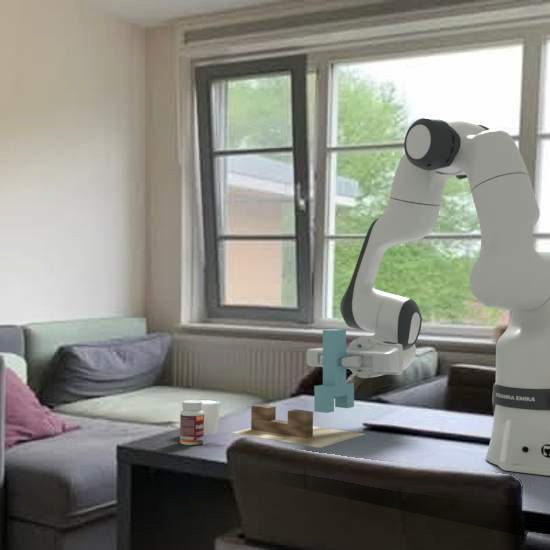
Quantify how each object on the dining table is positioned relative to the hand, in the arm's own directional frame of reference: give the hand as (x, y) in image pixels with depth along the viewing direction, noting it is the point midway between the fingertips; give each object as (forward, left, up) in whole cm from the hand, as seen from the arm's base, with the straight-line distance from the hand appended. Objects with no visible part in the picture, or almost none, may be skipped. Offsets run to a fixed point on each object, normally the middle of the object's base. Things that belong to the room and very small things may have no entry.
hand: (332, 361), depth 158 cm
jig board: (+7, +1, -17) cm, 18 cm away
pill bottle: (+22, +17, -17) cm, 33 cm away
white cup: (+26, +9, -17) cm, 33 cm away
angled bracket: (0, -1, -10) cm, 10 cm away
